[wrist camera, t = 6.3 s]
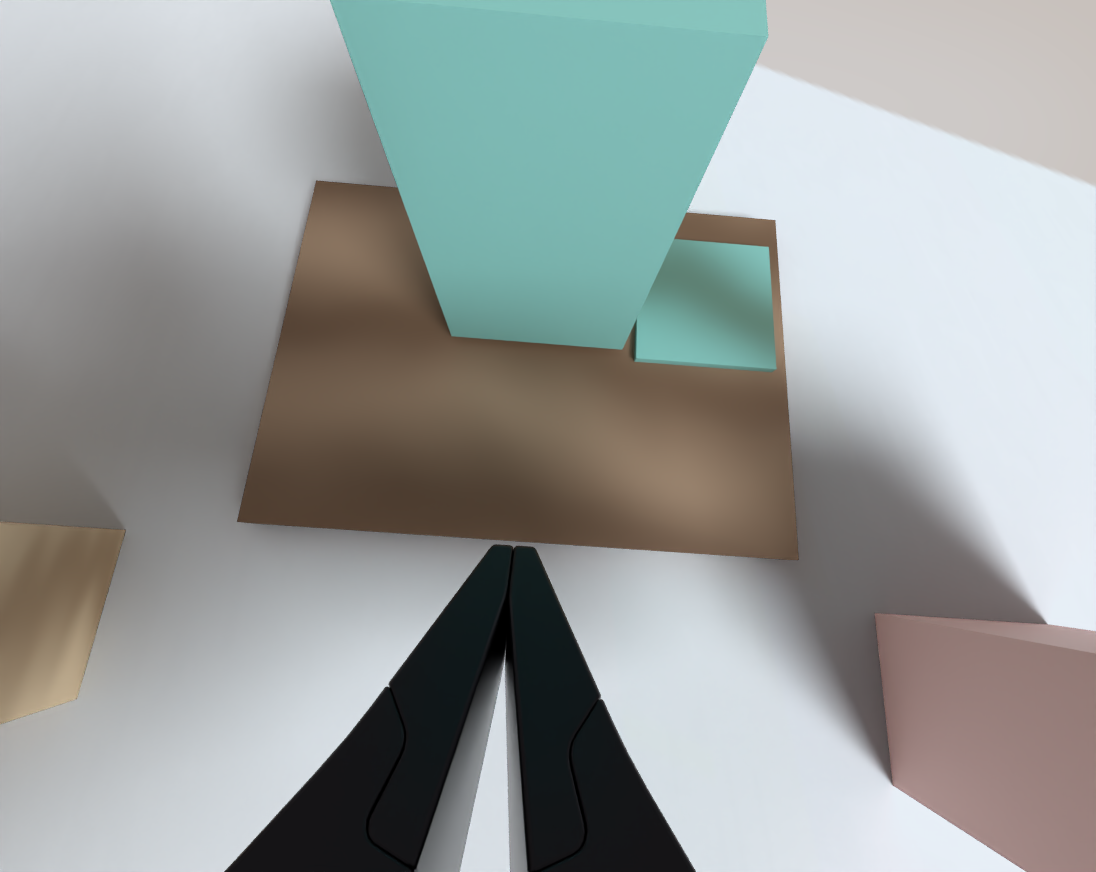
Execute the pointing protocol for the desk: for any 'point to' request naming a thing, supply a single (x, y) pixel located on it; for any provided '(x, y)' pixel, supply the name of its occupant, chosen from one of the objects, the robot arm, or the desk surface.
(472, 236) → the teal block
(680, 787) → the desk surface
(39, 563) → the oak block
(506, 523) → the walnut board
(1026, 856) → the rose block
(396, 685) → the robot arm
